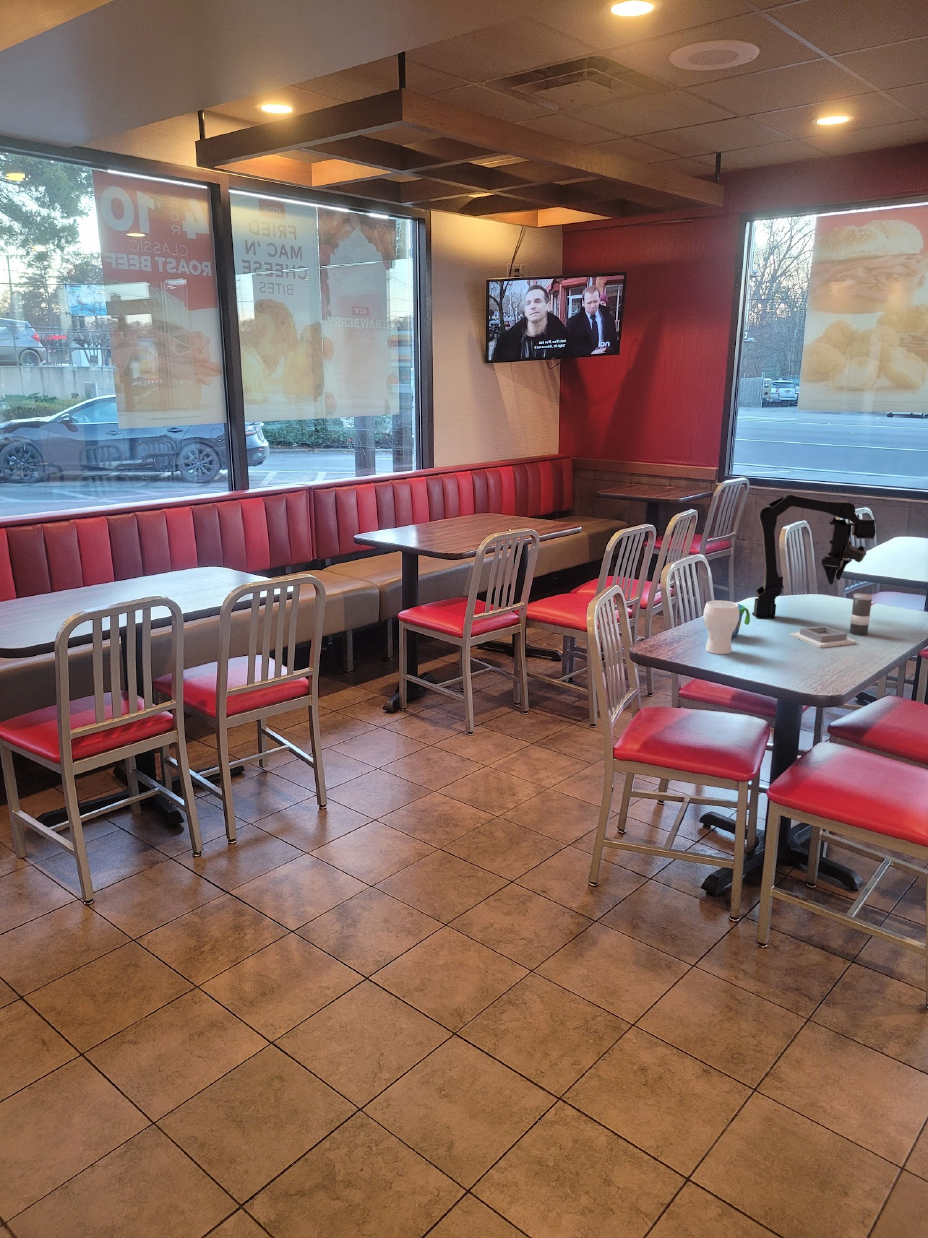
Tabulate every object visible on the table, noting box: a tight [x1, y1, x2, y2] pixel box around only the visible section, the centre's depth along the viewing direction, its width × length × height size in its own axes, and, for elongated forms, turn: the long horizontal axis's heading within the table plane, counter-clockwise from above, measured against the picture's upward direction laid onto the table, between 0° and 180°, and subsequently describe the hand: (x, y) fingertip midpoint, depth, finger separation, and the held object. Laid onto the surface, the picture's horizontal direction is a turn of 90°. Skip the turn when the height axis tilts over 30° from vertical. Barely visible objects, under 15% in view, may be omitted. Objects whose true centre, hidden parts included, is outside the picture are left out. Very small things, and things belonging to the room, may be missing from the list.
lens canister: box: [849, 592, 873, 636], centre depth 297 cm, size 6×6×13 cm
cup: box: [703, 600, 739, 655], centre depth 278 cm, size 11×11×15 cm
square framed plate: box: [790, 625, 857, 649], centre depth 291 cm, size 14×14×3 cm
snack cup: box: [703, 602, 751, 638], centre depth 295 cm, size 16×10×10 cm
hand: (834, 582), depth 312 cm, fingers open, 9 cm apart
